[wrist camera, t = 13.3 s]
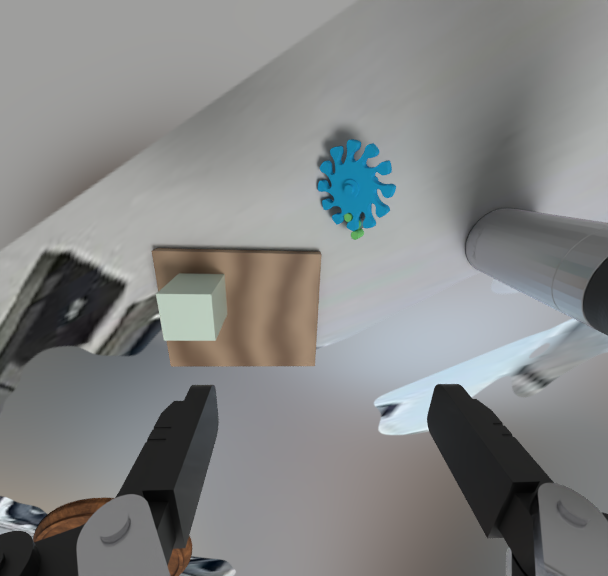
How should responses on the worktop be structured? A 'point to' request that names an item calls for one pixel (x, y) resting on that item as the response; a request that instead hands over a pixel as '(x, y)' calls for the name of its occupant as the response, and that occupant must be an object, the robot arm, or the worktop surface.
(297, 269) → the board
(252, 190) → the worktop surface
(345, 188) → the gear
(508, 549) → the robot arm
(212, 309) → the pale green block
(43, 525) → the cutting board
